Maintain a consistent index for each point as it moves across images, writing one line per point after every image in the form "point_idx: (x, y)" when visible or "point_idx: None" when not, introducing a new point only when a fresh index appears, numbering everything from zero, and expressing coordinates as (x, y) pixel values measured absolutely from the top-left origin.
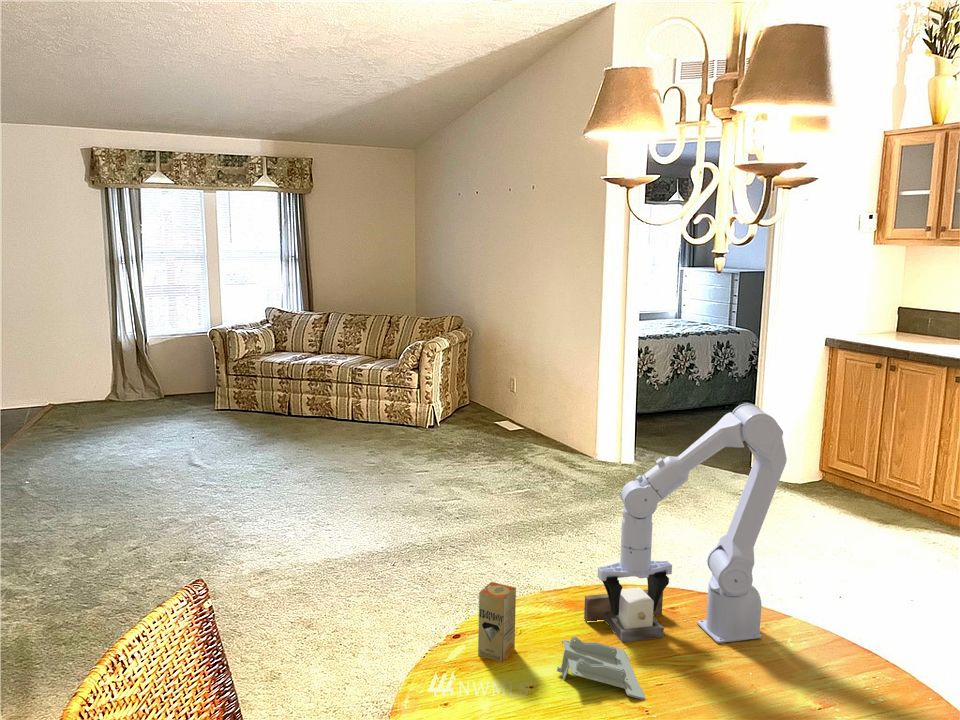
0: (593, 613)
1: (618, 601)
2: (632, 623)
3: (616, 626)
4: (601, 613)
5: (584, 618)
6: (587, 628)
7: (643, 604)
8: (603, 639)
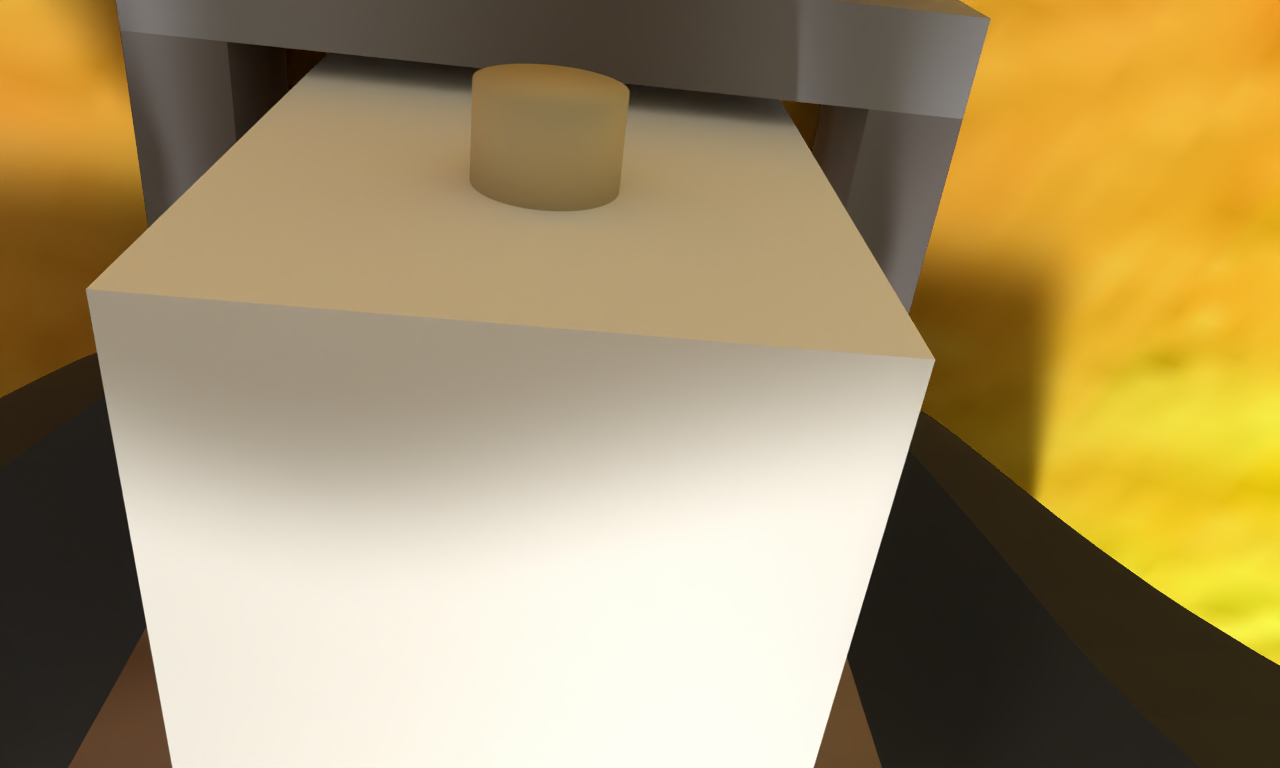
0: None
1: (1035, 567)
2: (721, 148)
3: (917, 261)
4: None
5: None
6: (1102, 459)
7: (460, 289)
8: (1117, 160)
